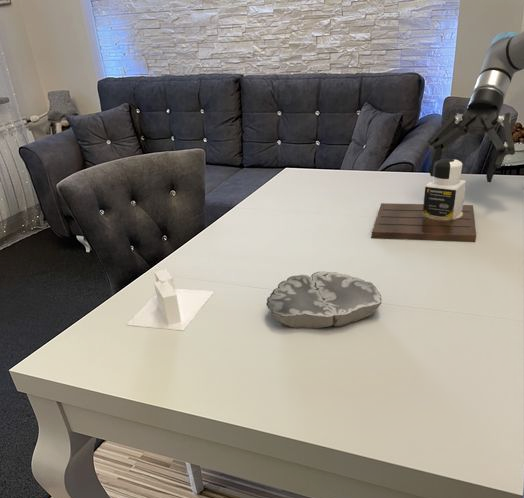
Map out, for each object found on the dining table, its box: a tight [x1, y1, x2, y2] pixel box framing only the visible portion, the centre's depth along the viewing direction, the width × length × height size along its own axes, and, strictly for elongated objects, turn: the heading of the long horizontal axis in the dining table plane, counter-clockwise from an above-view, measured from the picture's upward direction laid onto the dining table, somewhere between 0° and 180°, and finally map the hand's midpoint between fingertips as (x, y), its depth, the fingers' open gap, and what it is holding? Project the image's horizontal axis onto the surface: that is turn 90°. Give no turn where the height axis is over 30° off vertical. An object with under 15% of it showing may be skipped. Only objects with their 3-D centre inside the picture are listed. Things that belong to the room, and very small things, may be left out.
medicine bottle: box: [423, 158, 467, 219], centre depth 122 cm, size 7×7×12 cm
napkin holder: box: [126, 268, 215, 331], centre depth 97 cm, size 15×11×6 cm
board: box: [370, 202, 477, 243], centre depth 125 cm, size 22×20×2 cm
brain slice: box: [265, 271, 382, 329], centre depth 94 cm, size 20×17×3 cm
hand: (459, 176), depth 127 cm, fingers open, 13 cm apart
